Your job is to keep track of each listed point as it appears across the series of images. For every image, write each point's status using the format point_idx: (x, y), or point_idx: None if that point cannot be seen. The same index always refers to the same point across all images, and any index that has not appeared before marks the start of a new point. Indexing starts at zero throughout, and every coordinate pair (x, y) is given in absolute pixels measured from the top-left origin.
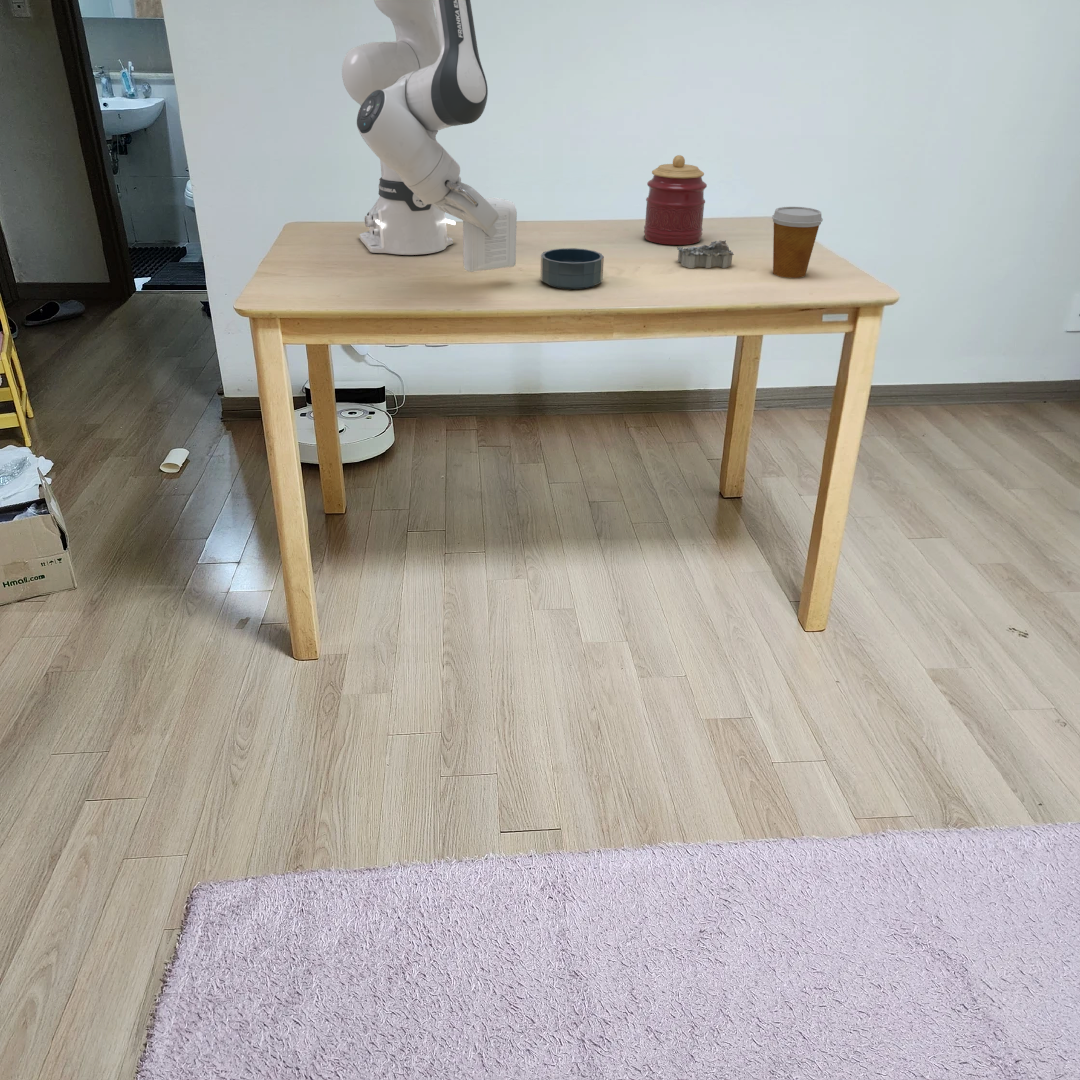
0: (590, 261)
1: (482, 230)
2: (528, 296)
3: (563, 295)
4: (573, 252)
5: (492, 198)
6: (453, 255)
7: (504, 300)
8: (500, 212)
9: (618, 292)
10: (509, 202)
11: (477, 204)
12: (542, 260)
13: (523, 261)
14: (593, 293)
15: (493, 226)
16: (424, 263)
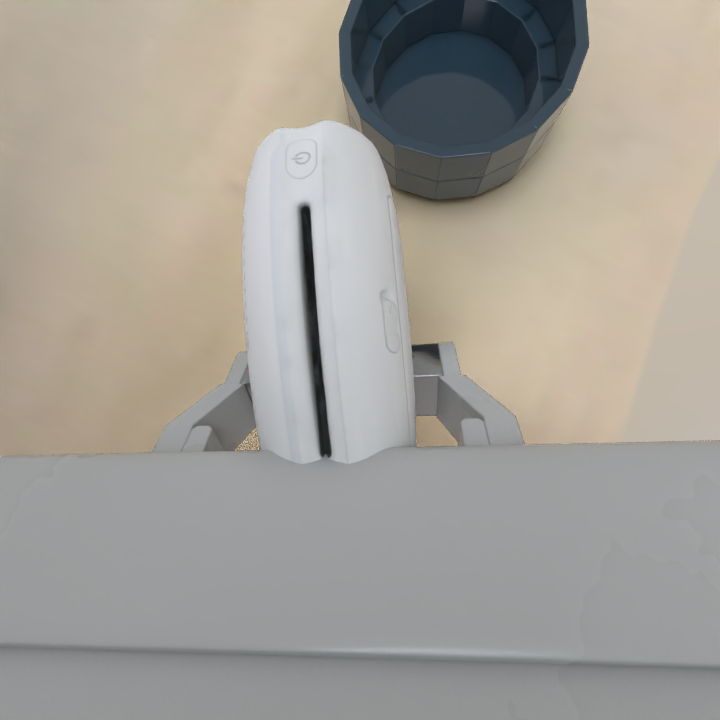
0: (578, 11)
1: (417, 415)
2: (536, 301)
3: (574, 196)
4: (367, 3)
5: (295, 275)
6: (11, 311)
7: (546, 390)
8: (404, 275)
9: (617, 23)
10: (349, 158)
11: (399, 464)
12: (440, 164)
13: (164, 143)
14: (593, 100)
15: (457, 363)
16: (55, 431)
